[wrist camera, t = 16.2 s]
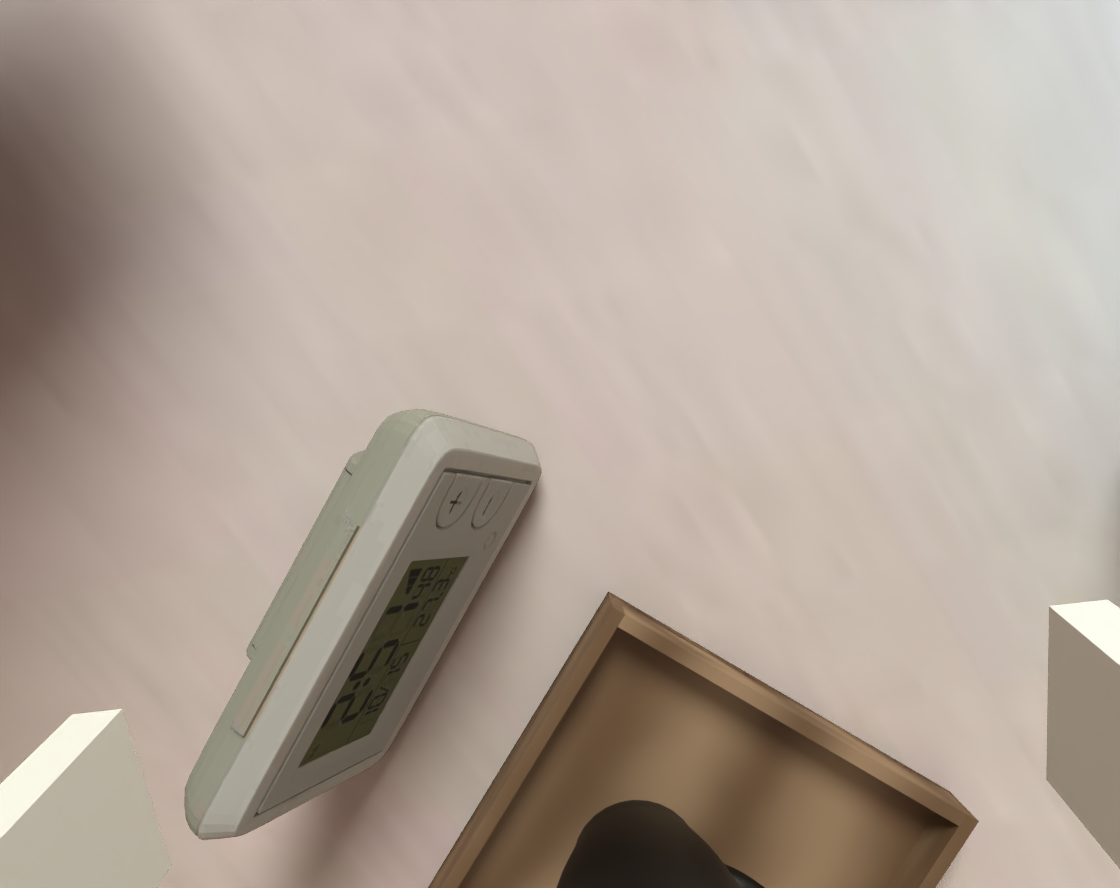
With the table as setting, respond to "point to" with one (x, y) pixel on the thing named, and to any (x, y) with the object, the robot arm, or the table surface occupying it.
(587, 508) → the table surface
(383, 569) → the digital clock
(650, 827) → the mug
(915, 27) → the table surface
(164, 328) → the table surface
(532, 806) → the walnut tray
